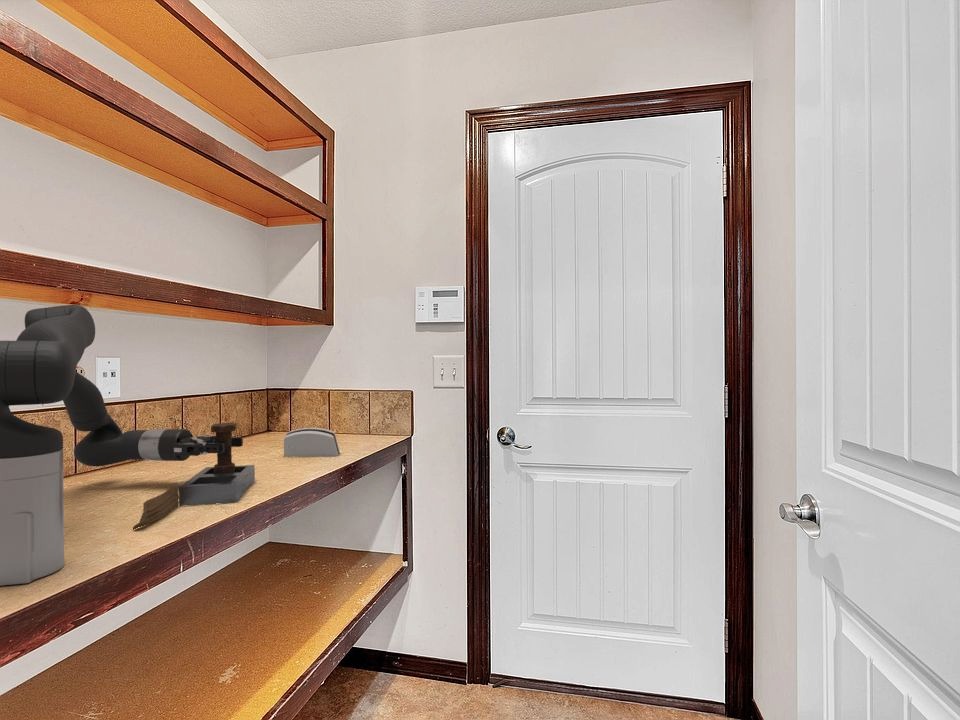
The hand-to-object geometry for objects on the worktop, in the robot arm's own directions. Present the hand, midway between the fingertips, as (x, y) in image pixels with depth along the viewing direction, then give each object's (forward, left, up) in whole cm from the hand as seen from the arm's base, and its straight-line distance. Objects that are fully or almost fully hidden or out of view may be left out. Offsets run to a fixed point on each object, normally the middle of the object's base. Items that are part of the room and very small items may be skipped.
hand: (233, 445), depth 124 cm
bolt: (0, +2, -10) cm, 10 cm away
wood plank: (-22, +8, -10) cm, 26 cm away
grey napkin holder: (+37, -14, -10) cm, 41 cm away
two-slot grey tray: (-5, +2, -10) cm, 11 cm away
